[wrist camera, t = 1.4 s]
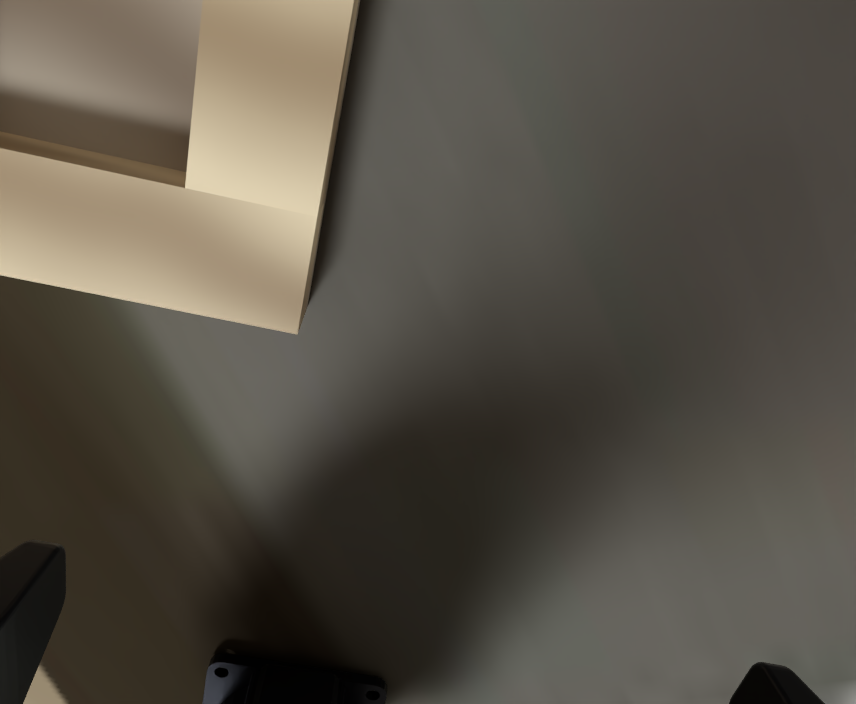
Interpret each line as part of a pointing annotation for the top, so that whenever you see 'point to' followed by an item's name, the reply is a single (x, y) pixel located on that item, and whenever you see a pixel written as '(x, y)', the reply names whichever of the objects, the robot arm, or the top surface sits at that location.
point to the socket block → (171, 149)
